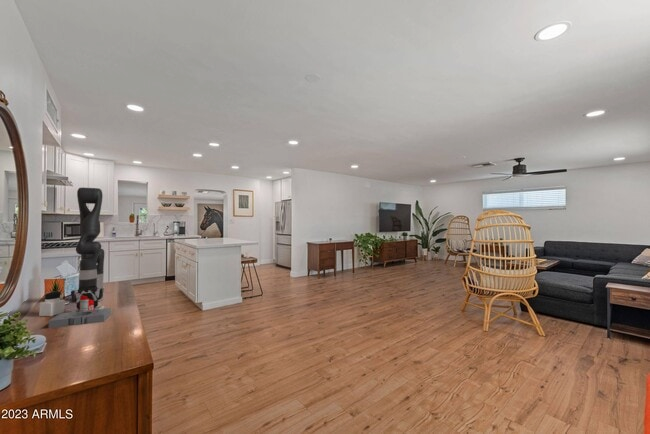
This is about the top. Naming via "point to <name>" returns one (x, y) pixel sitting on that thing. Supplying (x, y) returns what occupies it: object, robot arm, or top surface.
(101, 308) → the tray frame
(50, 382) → the top surface
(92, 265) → the robot arm
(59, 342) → the top surface
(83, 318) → the socket plate
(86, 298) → the beverage can
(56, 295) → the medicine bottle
